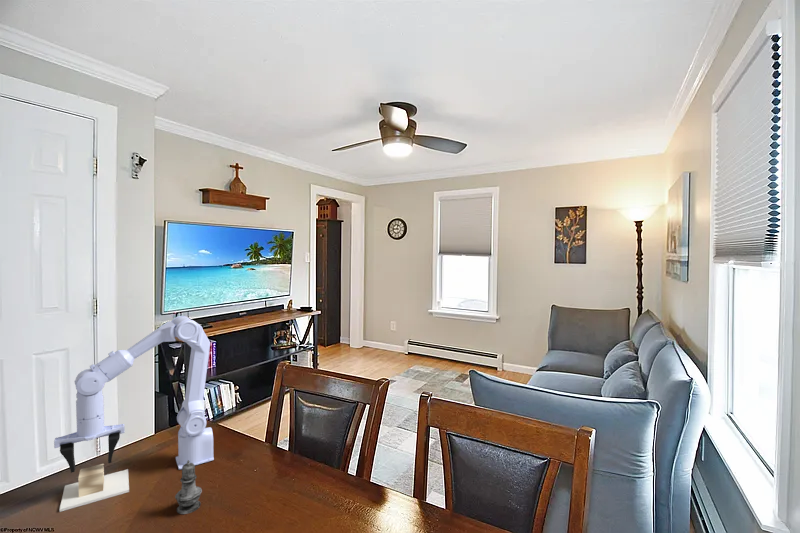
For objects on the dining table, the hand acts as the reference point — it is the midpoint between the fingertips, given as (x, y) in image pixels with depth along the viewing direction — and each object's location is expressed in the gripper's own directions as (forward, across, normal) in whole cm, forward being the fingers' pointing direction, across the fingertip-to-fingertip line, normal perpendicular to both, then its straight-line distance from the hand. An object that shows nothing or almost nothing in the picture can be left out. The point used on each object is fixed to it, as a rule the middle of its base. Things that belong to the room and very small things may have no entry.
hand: (91, 465), depth 104 cm
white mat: (+7, +1, 0) cm, 7 cm away
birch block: (+6, 0, 0) cm, 6 cm away
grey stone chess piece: (+7, +20, -22) cm, 31 cm away
